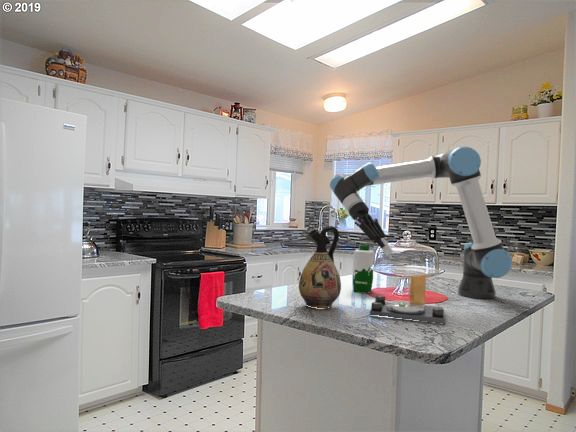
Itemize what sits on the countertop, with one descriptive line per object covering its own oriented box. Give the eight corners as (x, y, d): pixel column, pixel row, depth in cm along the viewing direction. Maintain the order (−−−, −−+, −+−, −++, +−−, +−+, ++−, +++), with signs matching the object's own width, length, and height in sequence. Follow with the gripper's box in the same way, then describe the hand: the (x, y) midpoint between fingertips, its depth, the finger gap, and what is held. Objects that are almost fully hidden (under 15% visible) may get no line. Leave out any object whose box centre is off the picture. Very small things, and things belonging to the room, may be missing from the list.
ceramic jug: (305, 312, 152) (308, 226, 151) (293, 302, 167) (295, 224, 166) (351, 311, 156) (354, 227, 155) (335, 301, 171) (337, 224, 170)
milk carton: (373, 290, 197) (375, 245, 196) (371, 293, 188) (372, 247, 188) (353, 288, 199) (355, 244, 199) (350, 292, 191) (352, 246, 190)
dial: (413, 315, 143) (414, 282, 143) (379, 308, 152) (380, 276, 152) (439, 307, 156) (440, 276, 156) (406, 301, 165) (408, 272, 165)
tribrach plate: (442, 312, 158) (442, 301, 158) (444, 324, 142) (444, 311, 142) (375, 306, 165) (375, 294, 165) (369, 316, 149) (370, 304, 149)
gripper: (359, 213, 181) (393, 258, 170) (340, 213, 172) (373, 261, 161) (371, 201, 177) (406, 246, 166) (351, 200, 168) (387, 248, 157)
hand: (390, 253), depth 163 cm, fingers closed
